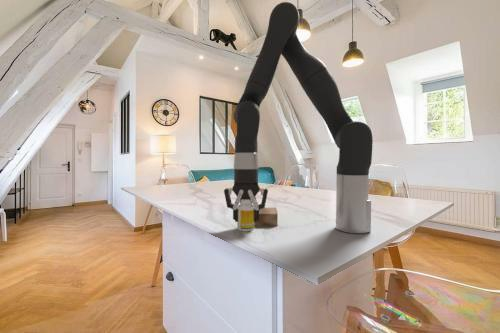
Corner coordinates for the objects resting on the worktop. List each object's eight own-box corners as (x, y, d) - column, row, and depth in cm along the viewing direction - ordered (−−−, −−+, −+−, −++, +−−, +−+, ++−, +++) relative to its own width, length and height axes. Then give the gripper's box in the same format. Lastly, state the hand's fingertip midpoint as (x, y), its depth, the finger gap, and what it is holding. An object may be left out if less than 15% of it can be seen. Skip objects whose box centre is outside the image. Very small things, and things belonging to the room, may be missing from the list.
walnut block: (276, 218, 87) (276, 207, 86) (277, 226, 77) (277, 214, 76) (249, 217, 87) (249, 207, 87) (247, 225, 77) (247, 213, 77)
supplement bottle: (234, 228, 74) (234, 198, 73) (247, 225, 77) (247, 196, 77) (244, 232, 69) (244, 200, 69) (258, 229, 73) (258, 199, 73)
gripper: (269, 167, 76) (268, 218, 76) (225, 167, 77) (225, 218, 77) (269, 168, 68) (269, 225, 69) (221, 167, 69) (221, 224, 70)
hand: (246, 221), depth 73 cm, fingers closed on supplement bottle, 5 cm apart
